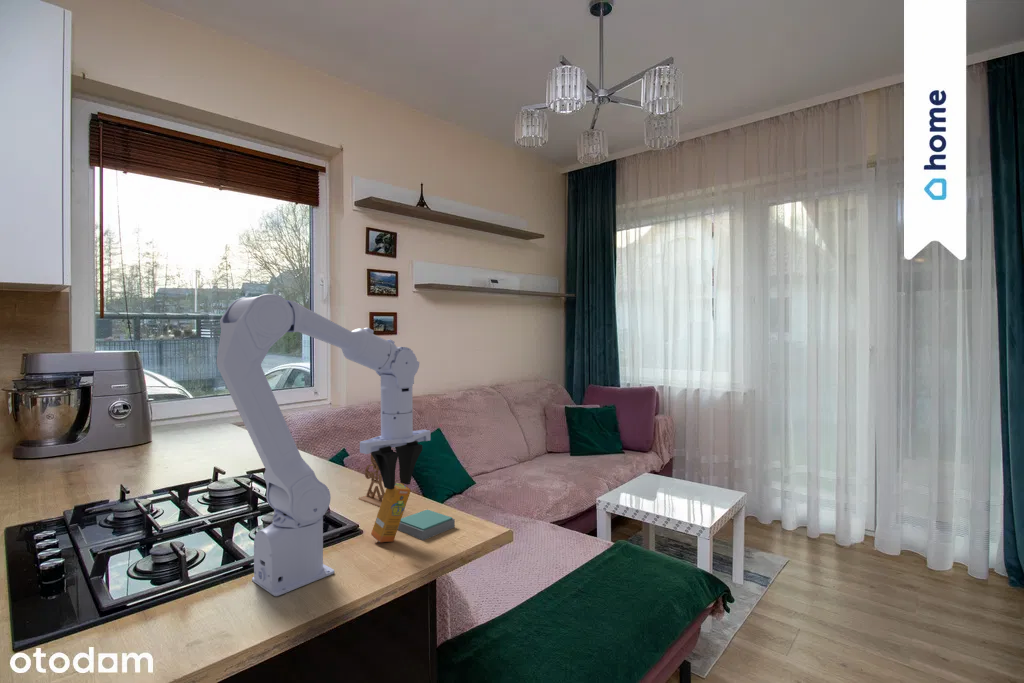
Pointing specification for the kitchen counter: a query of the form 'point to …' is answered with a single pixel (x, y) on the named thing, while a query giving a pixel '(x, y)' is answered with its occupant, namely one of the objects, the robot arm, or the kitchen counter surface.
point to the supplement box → (390, 513)
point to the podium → (426, 524)
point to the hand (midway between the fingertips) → (397, 485)
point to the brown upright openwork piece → (372, 497)
